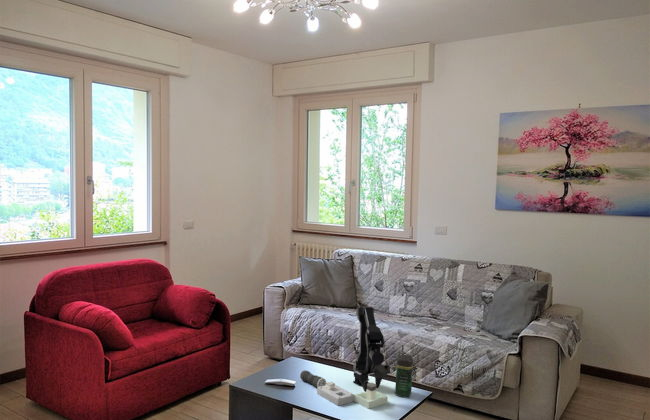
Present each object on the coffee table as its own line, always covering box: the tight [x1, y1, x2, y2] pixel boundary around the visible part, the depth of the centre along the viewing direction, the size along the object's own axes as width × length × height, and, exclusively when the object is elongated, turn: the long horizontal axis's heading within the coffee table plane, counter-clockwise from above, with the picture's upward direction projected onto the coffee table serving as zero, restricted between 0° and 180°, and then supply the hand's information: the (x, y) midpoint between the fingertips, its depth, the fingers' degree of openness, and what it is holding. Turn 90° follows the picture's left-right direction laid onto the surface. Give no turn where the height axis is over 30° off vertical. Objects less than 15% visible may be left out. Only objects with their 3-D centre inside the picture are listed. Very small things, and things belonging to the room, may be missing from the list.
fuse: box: [326, 381, 336, 390], centre depth 244 cm, size 3×3×6 cm
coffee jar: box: [394, 354, 414, 398], centre depth 249 cm, size 10×8×19 cm
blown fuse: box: [366, 381, 377, 401], centre depth 237 cm, size 3×3×8 cm
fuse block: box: [316, 384, 355, 406], centre depth 241 cm, size 10×16×3 cm, turn 37°
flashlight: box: [299, 369, 327, 388], centre depth 257 cm, size 15×5×5 cm, turn 40°
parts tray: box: [353, 390, 389, 409], centre depth 238 cm, size 12×10×3 cm
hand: (371, 389), depth 237 cm, fingers open, 7 cm apart
